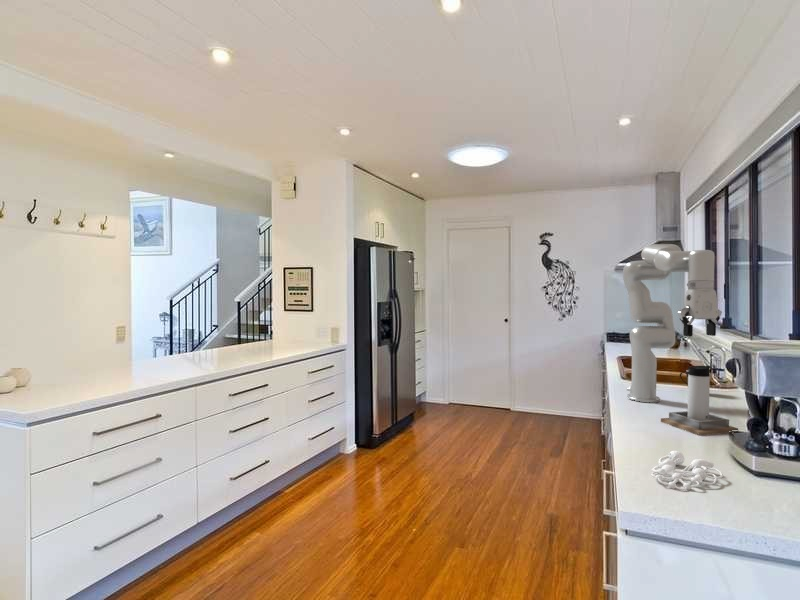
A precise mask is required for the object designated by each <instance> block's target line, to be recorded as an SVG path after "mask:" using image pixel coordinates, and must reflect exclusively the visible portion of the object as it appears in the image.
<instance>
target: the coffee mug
mask: <svg viewBox="0 0 800 600" xmlns="http://www.w3.org/2000/svg"><path fill="white" fill-rule="evenodd" d="M683 374H685V375H686V381H685V380H684V379H683V377H682V375H683ZM688 374H689V369H686V370H685V371H682V372H680V374H679V378H680V379H681V381H682V382H683V383H684V384H685V385H686V386H688Z"/></svg>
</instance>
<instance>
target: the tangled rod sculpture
mask: <svg viewBox="0 0 800 600" xmlns="http://www.w3.org/2000/svg"><path fill="white" fill-rule="evenodd" d="M663 460H664V461H663ZM684 462H685V456H684V454H683V453H682V452H681V451H679V450H671V451H669V452H668V454H667V455H665V456H664V455H663V456H661V457H660V458H659V459H658V465H655V466H654V467H653V468H651V471H652V472H651V473H650V474H651V476H652V477H653V478H655V481H656V482H659V483H660V484H661V485H663V486H668V487H669V489H672V490H674V489H677V490H679V491H683V492H684V491H690V490H692V488H696V487H697V488H698V487H699V486H700V484H703V485H707V486H709V485H711V486H713V485H715V484H717V481H718V479H722V478H723V476H724V474H723V472H722V471H721V470H720V469H718V468H715V467H714V463H713V461H712V462H711V461H709V460H707V459H704V458H699V459H698V458H696V459H693V460H692V461H691V463H690V464H688V465H687V466H686V467H684V469H681V470H676V469H675V468H676V466H680V465H683V464H684ZM691 469H692V470H691ZM690 470H691V471H690ZM708 470H710V471H711V470H712V471H716V472H718V474H719V475H720V476H717V475H715V474H714V473H712V472H708ZM655 474H656V475H655ZM688 477H689V478H688ZM690 477H691V478H690ZM707 478H709V479H712V480H714V481H713V482H707V481H705V480H706V479H707ZM664 480H665V481H668V480H669V482H668V483H666V482H664ZM685 481H688V482H689V481H690V483H688V482H685ZM677 483H681V484H682V486H683V487H682V488H681V487H679V486H678V485H677Z"/></svg>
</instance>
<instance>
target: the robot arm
mask: <svg viewBox="0 0 800 600" xmlns="http://www.w3.org/2000/svg"><path fill="white" fill-rule="evenodd" d="M640 255H641V258H642V259H641V260H634V261H633V260H632V261H629V262H627V263H626V264H625V265H624V267H623V269H622V270H623V271H622V280H623V282H624V286H625V289H626V291H627V295H628V301H629V310H630V315H631V316H630V317H631V320H632V322H634V323H637V324H645V325H640V326H639V325H638V326H636V327H632V329H631V330H630V332H629V342H630V349H631V382H630V383H631V385H630V386H629V387H627V388H626V391H628V392H629V393H628V394H627V397H628V398H629V399H628V398H627V397H626V398H627V399H628V400H630V399H631V401H634V400H635V402H639V401H640V402H641V403H649V402H650V404H651V403H659V402H660V401H661V397H659V396H657V370H658V369H657V368H658V367H657V365H658V364H657V363H658V362H657V361H658V360H657V357H656V355H655V353H654V352H653V351H652V350H653V349H671V348H672V347H674V345H675V344H676V332H675V324H674V317H673V312H672V308H671V306H670V305H669V304H668V303H666V302H663V301H652V299H651V291H650V289H649V288H648V287H647V285H646V284H645V283H644V282H642V281H664V280H666V279H667V278H668V277H669V276H670V275H671V274H672V273H687V283H686V287H687V289H686V294H685V297H684V306H683V308H682V309H680V310H679V311H677V314H678V317H679V320H680V321H681V324H682V325H683V328H682V329H683V332H682V333H683V334H682V335H683V336H684V337H693V335H694V334H693V330H694V329H693V328H694V326H693V324H692V323H693V322H694V320H705V321H706V322H707V323H706V332H705V333H706V334H705V335H706V336H712V337H716V335H717V333H716V332H717V325H718V324H719V321H720V319H721V316H722V311H721V310H720V309H719V307H718V304H719V303H718V298H717V297H718V296H717V291H716V290H715V285H714V284H715V252H714V251H713V250H710V249H697V250H692V251H691V250H682V248H680V246H679V245H677V244H675V243H674V244H673V243H672V244H671V243H660V244H658V243H653V244H649V245H646V246H645V247H644V248H643V249H642V251H641V254H640ZM647 324H648V325H649V324H653V325H649V326H648V325H647ZM654 324H655V326H654ZM656 325H657V326H656Z"/></svg>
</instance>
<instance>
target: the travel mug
mask: <svg viewBox="0 0 800 600" xmlns="http://www.w3.org/2000/svg"><path fill="white" fill-rule="evenodd" d="M711 369H712V366H711V365H691V366H689V367H688V370H689V374H688V385H687V411H688V418H691V419H694V420H697V421H705V420H709V414H710V389H711V388H710V386H711V385H710V382H711V381H710V380H711V378H710V377H711V376H710V372H711V371H710V370H711Z"/></svg>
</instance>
